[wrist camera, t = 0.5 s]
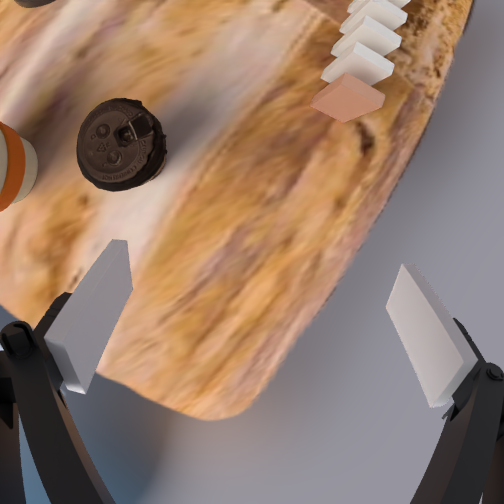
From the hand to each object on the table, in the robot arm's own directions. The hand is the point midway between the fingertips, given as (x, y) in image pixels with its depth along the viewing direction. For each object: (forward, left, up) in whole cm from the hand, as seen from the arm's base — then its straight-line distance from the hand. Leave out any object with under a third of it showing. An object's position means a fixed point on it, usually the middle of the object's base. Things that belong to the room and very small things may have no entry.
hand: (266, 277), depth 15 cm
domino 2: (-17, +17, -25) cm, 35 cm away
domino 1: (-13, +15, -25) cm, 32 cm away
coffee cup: (-10, -9, -25) cm, 28 cm away
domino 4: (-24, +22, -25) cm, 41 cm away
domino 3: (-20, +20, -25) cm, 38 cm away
